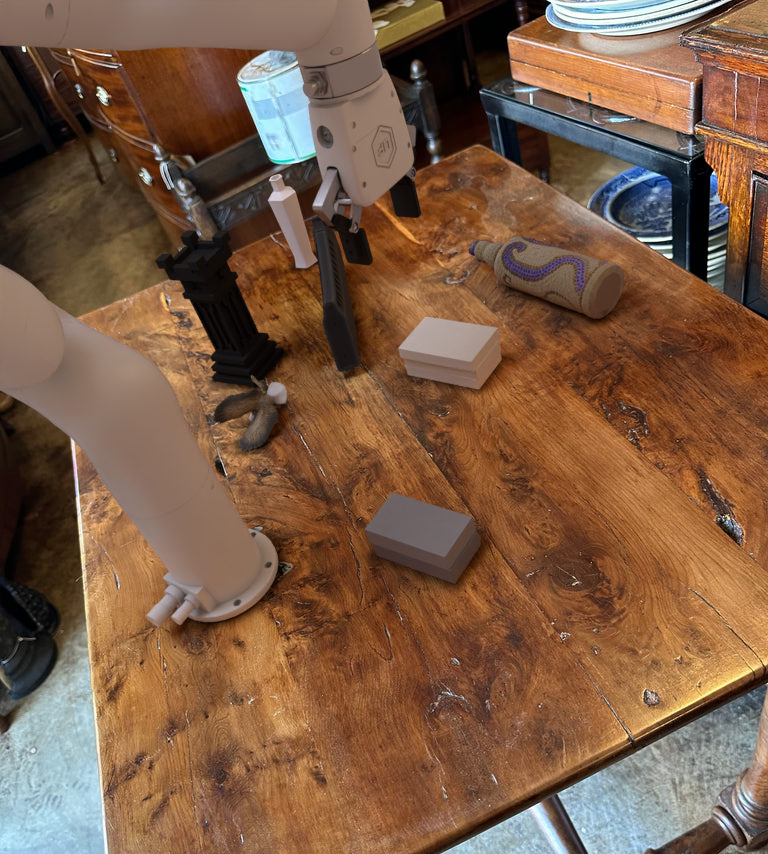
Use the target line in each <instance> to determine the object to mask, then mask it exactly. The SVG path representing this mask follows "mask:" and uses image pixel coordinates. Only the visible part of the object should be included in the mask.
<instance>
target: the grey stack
mask: <svg viewBox="0 0 768 854" xmlns="http://www.w3.org/2000/svg"><path fill="white" fill-rule="evenodd" d="M476 529H477V528H476V525H475V523H474V518H473V516H471V515H468V514H464V513H461V512H457V511H454V510H451V509H448V508H445V507H442V506H439V505H435V504H431V503H428V502H426V501H423V500H422V501H421V500H419V499H415V498H411V497H409V496H405V495H402V494H398V493H396V492H391V493H390V494H389V496H388V497H387V499H385V502H384V503H383V504H382V505H381V507H380V508H379V509H378V511H377V512H376V513H375V515H374V516H373V517H372V519H371V520H370V521H369V522H368V524H367V525H366V526H365V528H364V529H363V531H364V532H365V535H366V538H367V539H368V542H369V543H370V544H371V546H372V547H373V548H372V549H373V550H374V553H375V555H376V556H377V557H379V558H383V559H385V560H387V561H390V562H393V563H396V564H398V565H401V566H404V567H406V568H409V569H412V570H415V571H418V572H421V573H422V574H426V575H428V576H431V577H435V578H437V579H440V580H443V581H445V582H448V583H451V584H452V585H453V584H454V585H456V584H457V582H458V580H459V579H460V577H461V576H462V574H463V573H464V571H465V570H466V568H467V567H468V565H469V564H470V562H471V561H472V559H473V558H474V556H475V555H476V553H477V552H478V550H479V549H480V547H481V545H482V543H481V538H480V535H479V532H478V531H477V530H476Z"/></svg>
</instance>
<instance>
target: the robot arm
mask: <svg viewBox="0 0 768 854" xmlns="http://www.w3.org/2000/svg"><path fill="white" fill-rule="evenodd" d="M368 1H369V0H0V46H4V47H26V48H27V47H28V48H51V49H69V50H71V49H73V50H92V51H93V50H96V51H99V50H100V51H120V52H121V51H123V52H124V51H125V52H127V51H129V52H130V51H143V50H144V51H145V50H154V49H168V48H169V49H170V48H205V49H207V48H208V49H231V50H245V51H246V50H247V51H250V50H251V51H275V52H276V51H277V52H288V53H294V55H295V58H296V61H297V64H298V68H299V72H300V75H301V78H302V82H303V84H302V90H303V94H304V95H305V96H306V97H307V98H308V101H309V103H308V104H307V107H308V117H309V124H310V130H311V136H312V141H313V147H314V151H315V156H316V159H317V163H318V167H319V172H320V175H321V179H322V182H321V185H320V187H319V189H318V191H317V193H316V196H315V198H314V201H313V203H312V211H313V212H314V214H315V215H316V216H318V217H319V218H320V219H321V220H323V224H324V225H325V226H327V227H329V228H331V229H332V230H333V231H334V232H335V233H336V232H337V234H338V236H339V240H340V243H341V247H342V250H343V254H344V256H345V260H346V261H347V263H348V264H351V265H352V264H353V265H360V266H366V267H367V266H371V265H372V264H373V262H374V257H373V254H372V251H371V246H370V243H369V240H368V239H369V238H368V236H367V233H366V229H365V228H364V227H360V226H361V220H362V219H361V218H362V213H363V207H364V208H365V207H366V208H368V207H370V206H372V205H373V204H375V203H376V202H377V201H379V200H380V199H381V198H382V197H383V196H384V195H385V194H386V193H388V192H389V194H390V199H391V203H392V206H393V211H394V214H395V216H396V217H398V218H411V219H419V218H420V217H421V216H422V210H421V206H420V200H419V196H418V191H417V186H416V183H415V180H416V179H417V178H416V177H417V170H416V168H415V163H416V159H417V149H416V147H415V146H416V139H417V128H416V126H415V125H414V124H407V121H406V119H405V115H404V111H403V108H402V105H401V102H400V98H399V96H398V94H397V90H396V88H395V86H394V82H393V81H392V78H391V76H390V74H389V72H388V70H387V69H386V68H383V63H382V60H381V55H380V50H379V46H378V42H377V37H376V33H375V27H374V24H373V19H372V14H371V10H370V6H369V5H370V4H369V2H368ZM346 207H350V210H349V217H346V216H345V211H346ZM0 392H2V393H4V394H6V395H8V396H10V397H11V398H14V399H16V400H17V401H19V402H20V403H21V402H22V403H23V404H25V405H27V406H28V407H30V408H32V409H33V410H35V411H36V412H37V413H39V414H40V415H42V416H43V417H44V418H45V419H47V420H48V421H49V422H50V423H52V425H54V426H55V427H57V428H58V429H59V430H61V431H62V432H63V433H65V434H66V435H67V436H68V437H69V438H70V439H71V440H72V441H73V442H74V443H75V444H76V445H77V446H78V447H79V449H81V451H82V452H83V453H84V455H85V456H86V457H87V458H88V460H89V461H90V463H91V464H92V466H93V468H94V470H95V472H96V474H97V475H98V476H99V478H100V480H101V482H102V484H103V485H104V486H105V488H106V489H107V491H108V492H109V494H110V495H111V496H112V498H113V499H114V500H115V502H116V503H117V504H118V506H119V507H120V508H121V510H122V511H123V512H124V513H125V514H126V516H127V517H128V519H129V520H130V521H131V522H132V524H133V525H134V526H135V528H136V529H137V531H139V533H140V535H141V536H142V537H143V539H144V540H145V541H146V542H147V545H149V547H150V548H151V549H152V551H153V552H154V554H155V555H156V556H157V557H158V559H159V560H160V561H161V563H162V564H163V566H164V567H165V568H166V570H167V573H166V574H165V575H164V576H163V577H162V579H163V580H164V582H165V583H166V585H168V586H167V587H166V588H165V590H164V591H163V594H164V596H163V597H162V599H160V600H159V602H158V603H156V604H155V605H154V606H153V607H152V608H151V609H150V610H149V611H148V613H147V614H146V615H145V618H146V619H147V620H148V621H149V622H150V623H151V624H152V625H154V626H156V628H161V627H162V626H163V624H164V623H165V622H166V621H167V620H168V619H169V618H171V620H172V621H173V622H174V623H176V625H179V626H181V625H183V623H184V622H185V621H186V620H187V618H188V619H191V620H194V621H197V622H203V623H215V622H221V621H225V620H228V619H231V618H234V617H237V616H238V615H241V614H243V613H244V612H246V611H247V610H249V609H250V608H252V607H253V606H254V605H255V604H257V603H258V602H259V601H260V600H261V599H262V598H263V597H264V596H265V595H266V593H267V592H268V591H269V590H270V588H271V586H272V585H273V583H274V581H275V578H276V576H277V573H278V570H279V555H278V553H277V549H276V548H275V546H274V544H273V542H272V541H271V539H269V537H268V536H266V535H265V534H264V533H262V532H261V531H259V530H256V529H253V528H248V526H247V525H246V523H245V522H244V520H243V518H242V517H241V515H240V513H239V512H238V510H237V508H236V506H235V504H234V502H233V501H232V499H231V498H230V496H229V494H228V493H227V491H226V489H225V487H224V486H223V484H222V482H221V481H220V479H219V477H218V476H217V474H216V472H215V471H214V468H212V466H211V463H210V462H209V460H208V458H207V457H206V456H205V453H204V452H203V450H202V449H201V447H200V446H199V444H198V442H197V440H196V439H195V437H194V435H193V433H192V430H191V429H190V427H189V426H188V425H189V424H188V422H187V421H186V418H185V416H184V414H183V410H182V408H181V405H180V402H179V400H178V396H177V394H176V392H175V389H174V388H173V386H172V384H171V382H170V381H169V379H168V377H167V376H166V374H165V373H164V372H163V371H162V370H161V369H160V368H159V367H158V366H157V364H155V363H154V362H153V361H152V360H150V359H149V358H148V357H147V356H145V355H144V354H143V353H141V352H139V351H138V350H136V349H134V348H133V347H132V346H130V345H127V344H125V343H124V342H122V341H120V340H118V339H116V338H114V337H112V336H110V335H107V334H105V333H104V332H102V331H100V330H97V329H96V328H94V327H92V326H90V325H89V324H87V323H85V322H83V321H82V320H79V319H78V318H76V317H75V316H73V315H71V313H69V312H67V311H65V310H64V309H63V308H60V306H58V305H56V304H55V303H54V302H52V301H50V300H48V298H47V297H46V296H45V294H43V292H42V291H40V290H39V289H38V288H37V287H36V286H35V285H34V284H33V283H31V282H30V281H29V280H27V278H25V277H23V276H22V275H20V274H19V273H17V272H16V271H14V270H12V269H10V268H9V267H6V266H5V265H3V264H1V263H0ZM176 608H177V609H176ZM175 609H176V610H175ZM174 610H175V612H174V613H173V614H172V612H173V611H174Z"/></svg>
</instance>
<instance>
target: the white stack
mask: <svg viewBox="0 0 768 854" xmlns="http://www.w3.org/2000/svg"><path fill="white" fill-rule="evenodd" d="M501 351H502V347H501V342H500V340H498V341H497V342H496V343H495V345H494V346H493V347H492V349H491V350H490V351H489V352H488V354H487V355H486V356H485V358H484V359H483V360H482V361H481V363H480V364H479V365H478V367H477V368H476V369H475V371H474V372H471V371H466V370H461V369H456V368H450V367H445V366H440V365H435V364H430V363H424V362H419V361H414V360H409V359H404V358H403V359H404V363H405V365H404V367H405V370H406V374H407V376H411V377H416V378H421V379H425V380H430V381H436V382H441V383H445V384H448V385H449V384H450V385H455V386H460V387H464V388H469V389H474V390H480V389H481V388H482V386H483V385H484V384H485V383H486V381H487V380H488V379H489V377H490V376H491V375H492V373H493V372H494V371H495V369H496V368H497V366H499V364H500V363H501V361H502V354H501Z"/></svg>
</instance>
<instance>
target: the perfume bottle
mask: <svg viewBox="0 0 768 854" xmlns="http://www.w3.org/2000/svg"><path fill="white" fill-rule="evenodd" d="M268 181H269V182H270V185H271V187H272V190H273V191H272V192H271V194H270V196H269V197H268V199H267V201H268V203H269V206H270V208H271V210H272V212H273V215H274V216H275V219H276V221H277V223H278V225H279V228H280V229H281V232H282V234H283V236H284V238H285V240H286V242H287V244H288V247H289V248H290V249H289V250H290V251H291V253H292V255H293V257H294V262H295V269H309V268H310V267H312V266H313V265H315V264H316V263H318V261H317V256H316V255H315V254H314V252H313V248H312V246H311V241H310V238H309V234H308V231H307V227H306V224H305V220H304V217H303V213H302V209H301V207H300V202H299V200H298V195H297V193H296V191H295V190H294V188H293V187H291V186H287V185H285V182H284V180H283V175H282V174H280V173H278V174H274V175H271V176H270V178H269V179H268Z"/></svg>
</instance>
